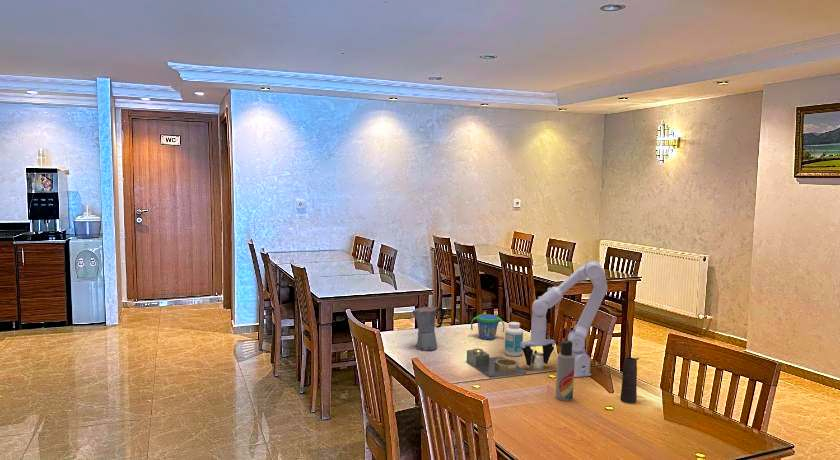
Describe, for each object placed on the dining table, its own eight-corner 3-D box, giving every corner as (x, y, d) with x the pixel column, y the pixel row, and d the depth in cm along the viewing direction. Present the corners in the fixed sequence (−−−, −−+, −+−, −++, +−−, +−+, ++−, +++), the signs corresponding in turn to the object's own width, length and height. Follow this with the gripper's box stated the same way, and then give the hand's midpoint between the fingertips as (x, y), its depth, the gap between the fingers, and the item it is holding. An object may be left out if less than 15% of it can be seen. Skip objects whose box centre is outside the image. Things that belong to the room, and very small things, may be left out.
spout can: (545, 370, 232) (546, 352, 231) (534, 371, 230) (535, 353, 230) (538, 366, 237) (539, 349, 236) (527, 367, 235) (528, 350, 234)
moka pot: (406, 346, 259) (408, 301, 257) (438, 343, 265) (439, 299, 264) (415, 352, 250) (417, 306, 249) (448, 349, 257) (449, 303, 255)
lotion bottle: (573, 401, 199) (576, 343, 198) (555, 400, 200) (558, 342, 199) (572, 396, 205) (575, 339, 203) (555, 394, 206) (558, 338, 204)
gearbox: (526, 373, 227) (527, 358, 227) (489, 377, 221) (490, 362, 221) (501, 358, 246) (501, 344, 245) (466, 361, 240) (467, 347, 239)
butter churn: (645, 398, 205) (650, 318, 202) (646, 407, 196) (651, 324, 193) (617, 394, 208) (622, 315, 205) (617, 403, 199) (621, 321, 196)
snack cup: (505, 336, 280) (506, 315, 279) (502, 342, 270) (503, 320, 269) (472, 333, 284) (473, 312, 283) (468, 339, 274) (469, 317, 273)
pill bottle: (521, 352, 256) (522, 321, 254) (522, 357, 248) (524, 325, 247) (504, 351, 256) (505, 320, 255) (504, 356, 249) (506, 324, 248)
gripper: (548, 326, 238) (547, 359, 240) (517, 329, 233) (515, 362, 234) (558, 330, 232) (557, 364, 233) (526, 333, 227) (525, 368, 228)
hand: (537, 364), depth 233 cm, fingers open, 7 cm apart
